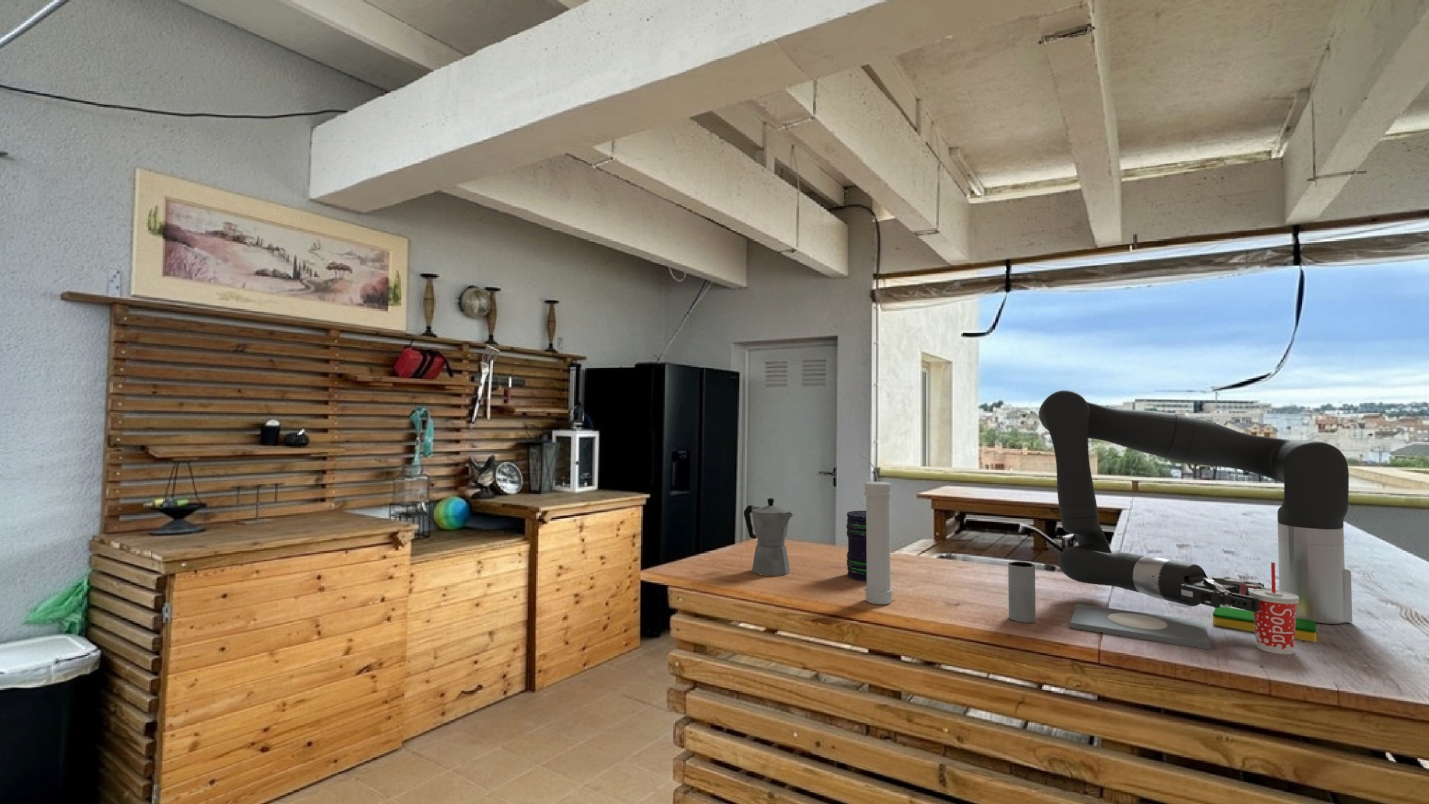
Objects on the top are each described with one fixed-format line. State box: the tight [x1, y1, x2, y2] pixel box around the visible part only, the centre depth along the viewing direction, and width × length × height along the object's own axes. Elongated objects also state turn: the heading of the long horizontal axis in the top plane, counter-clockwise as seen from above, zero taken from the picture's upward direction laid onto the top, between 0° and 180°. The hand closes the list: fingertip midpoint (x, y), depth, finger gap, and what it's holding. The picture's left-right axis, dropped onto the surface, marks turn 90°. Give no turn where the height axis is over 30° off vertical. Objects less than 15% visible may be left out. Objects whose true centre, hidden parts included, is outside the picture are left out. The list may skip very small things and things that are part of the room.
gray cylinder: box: [1007, 560, 1037, 624], centre depth 121 cm, size 4×4×10 cm
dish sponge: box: [1212, 606, 1317, 643], centre depth 116 cm, size 7×14×2 cm, turn 48°
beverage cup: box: [1248, 562, 1299, 656], centre depth 106 cm, size 6×6×14 cm
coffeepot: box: [743, 497, 793, 577], centre depth 160 cm, size 15×9×18 cm, turn 44°
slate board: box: [1069, 603, 1212, 651], centre depth 117 cm, size 20×14×1 cm
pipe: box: [860, 454, 893, 606], centre depth 133 cm, size 6×6×30 cm
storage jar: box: [846, 510, 867, 583], centre depth 154 cm, size 10×10×15 cm
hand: (1273, 602), depth 106 cm, fingers open, 8 cm apart
